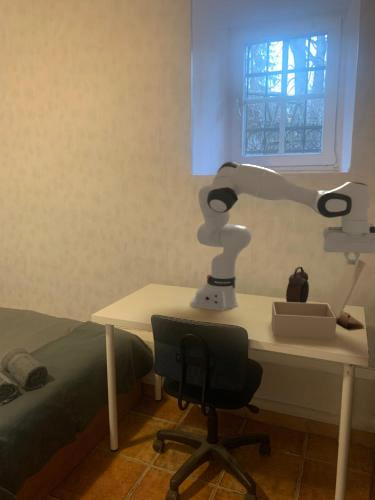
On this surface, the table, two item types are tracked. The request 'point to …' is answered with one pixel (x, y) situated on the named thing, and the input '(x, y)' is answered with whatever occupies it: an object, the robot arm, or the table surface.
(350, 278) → the carton flap
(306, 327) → the carton
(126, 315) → the table surface
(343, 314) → the sunglasses case
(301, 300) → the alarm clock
